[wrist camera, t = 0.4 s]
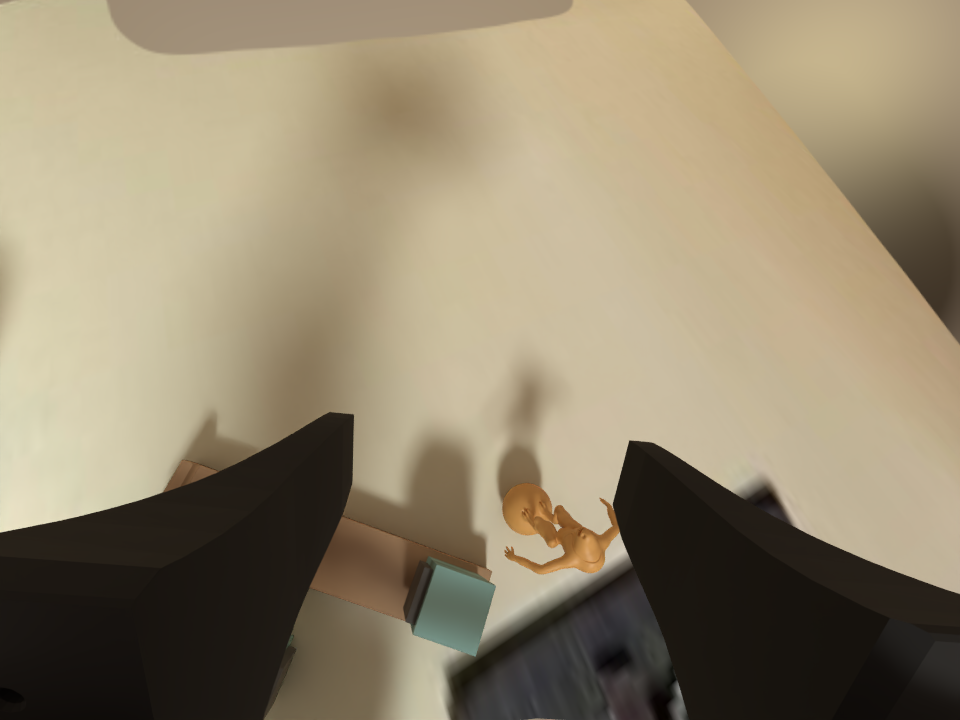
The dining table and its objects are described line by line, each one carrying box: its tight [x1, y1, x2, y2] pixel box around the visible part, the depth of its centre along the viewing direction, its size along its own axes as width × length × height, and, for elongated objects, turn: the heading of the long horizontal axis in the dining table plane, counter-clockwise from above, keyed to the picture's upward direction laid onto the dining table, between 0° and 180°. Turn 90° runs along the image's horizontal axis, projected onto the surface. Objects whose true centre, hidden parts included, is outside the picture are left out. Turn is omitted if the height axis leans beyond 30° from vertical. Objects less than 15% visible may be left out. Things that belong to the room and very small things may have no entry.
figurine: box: [502, 483, 620, 574], centre depth 32 cm, size 8×6×12 cm
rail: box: [164, 460, 496, 656], centre depth 31 cm, size 5×24×8 cm, turn 71°
